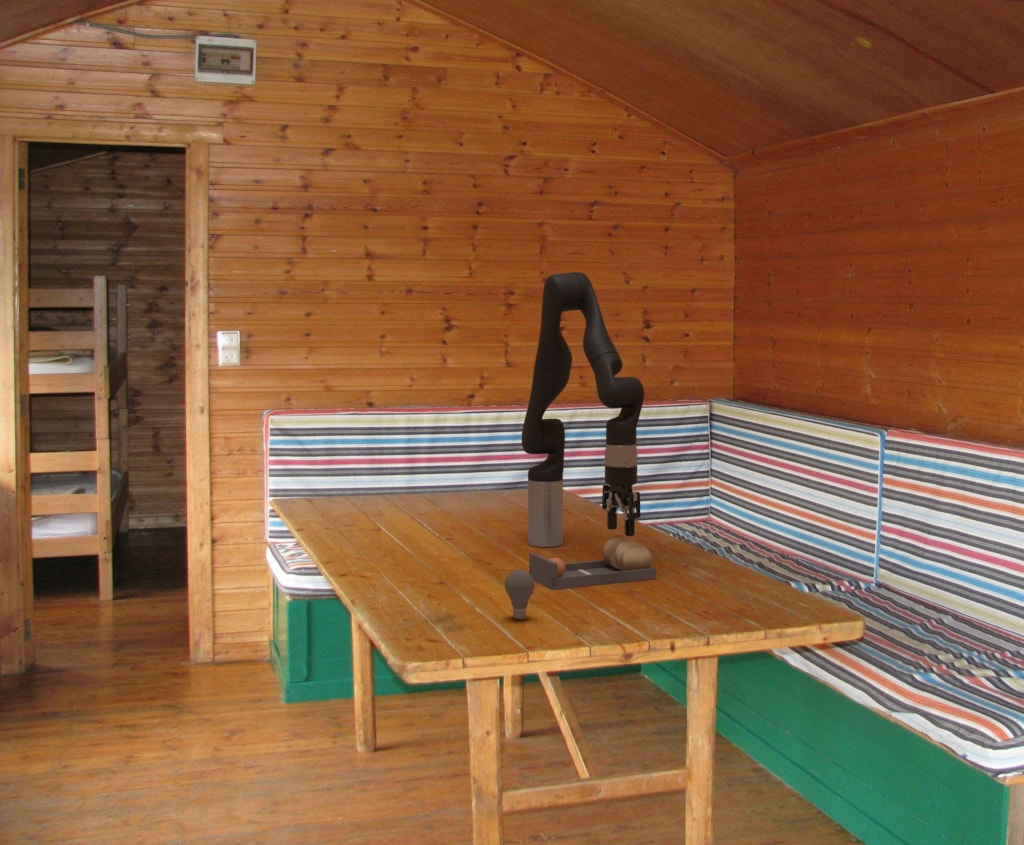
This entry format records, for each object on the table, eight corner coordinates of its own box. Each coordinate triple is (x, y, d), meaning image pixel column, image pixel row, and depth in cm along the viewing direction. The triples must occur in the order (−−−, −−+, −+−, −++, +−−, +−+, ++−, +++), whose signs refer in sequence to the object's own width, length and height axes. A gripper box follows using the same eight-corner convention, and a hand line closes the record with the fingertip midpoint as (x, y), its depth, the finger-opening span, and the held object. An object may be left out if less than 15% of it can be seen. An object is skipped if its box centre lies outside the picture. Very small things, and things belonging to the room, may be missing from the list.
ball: (561, 573, 270) (542, 578, 268) (558, 553, 269) (539, 558, 267) (570, 577, 265) (551, 583, 264) (567, 557, 264) (548, 563, 263)
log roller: (602, 567, 277) (602, 538, 277) (628, 565, 280) (628, 536, 279) (624, 577, 267) (625, 547, 266) (651, 574, 270) (651, 544, 269)
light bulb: (533, 614, 238) (533, 566, 237) (535, 622, 232) (535, 573, 231) (504, 615, 238) (504, 567, 237) (505, 623, 232) (505, 573, 231)
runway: (529, 577, 271) (529, 552, 270) (628, 567, 281) (628, 543, 281) (553, 589, 259) (553, 564, 259) (655, 578, 269) (655, 553, 269)
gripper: (592, 460, 276) (592, 528, 277) (621, 468, 262) (621, 539, 264) (620, 458, 278) (620, 526, 280) (650, 466, 265) (650, 536, 267)
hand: (620, 532), depth 272 cm, fingers open, 8 cm apart
